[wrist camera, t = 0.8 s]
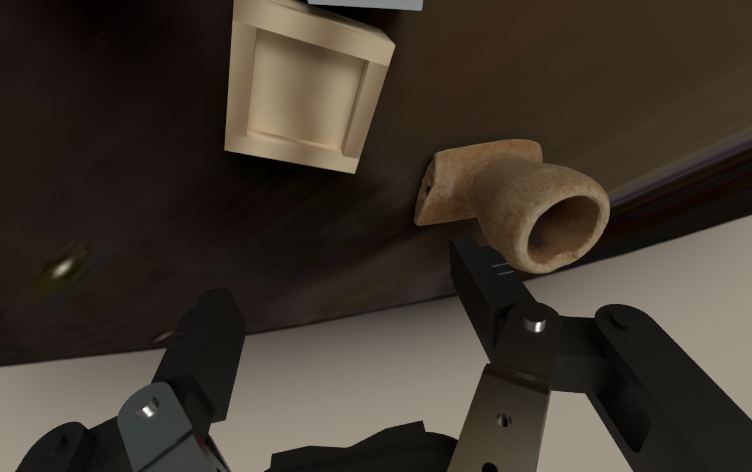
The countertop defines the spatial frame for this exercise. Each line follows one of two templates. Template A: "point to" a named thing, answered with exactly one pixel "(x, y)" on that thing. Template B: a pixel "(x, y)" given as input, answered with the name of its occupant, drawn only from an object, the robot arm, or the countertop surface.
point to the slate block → (374, 3)
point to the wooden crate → (302, 83)
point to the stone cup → (516, 202)
